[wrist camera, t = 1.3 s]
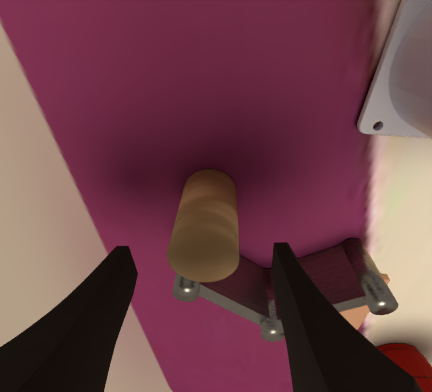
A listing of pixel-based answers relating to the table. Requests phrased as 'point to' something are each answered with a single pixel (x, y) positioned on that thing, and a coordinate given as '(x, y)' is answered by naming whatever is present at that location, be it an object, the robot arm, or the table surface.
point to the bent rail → (316, 269)
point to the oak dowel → (206, 228)
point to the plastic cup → (410, 363)
